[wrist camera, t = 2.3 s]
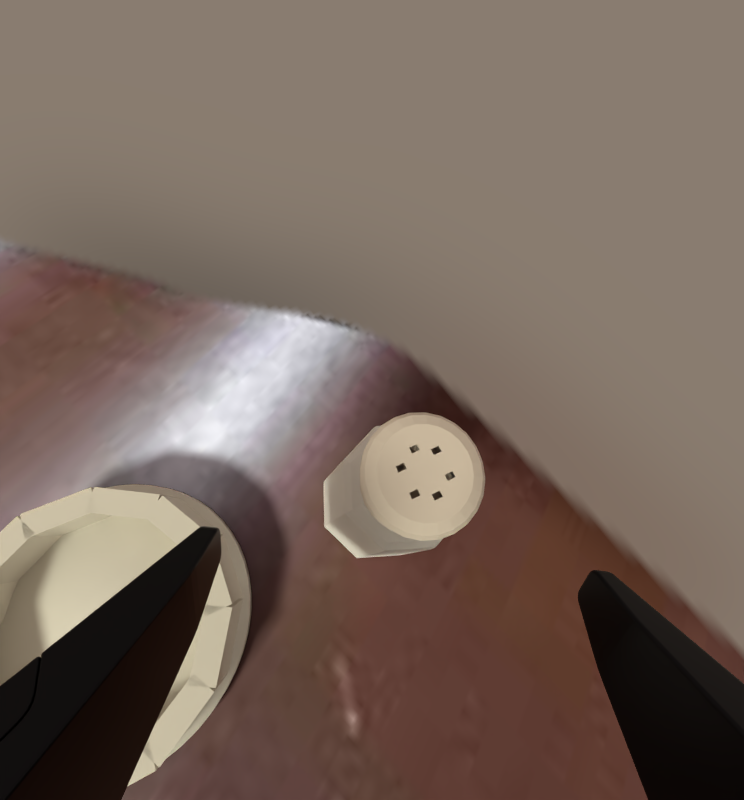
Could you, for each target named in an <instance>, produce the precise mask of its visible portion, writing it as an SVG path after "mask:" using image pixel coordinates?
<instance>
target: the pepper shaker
mask: <svg viewBox="0 0 744 800" xmlns="http://www.w3.org/2000/svg"><path fill="white" fill-rule="evenodd" d="M484 486H485V473H484V466H483V461H482V459H481V456H480V454H479V451H478V449H477V447H476V445H475V444H474V443H473V441H472V440H471V438H470V437H469V436H468V434H467V433H466V432H465V431H463V430H462V429H461V428H460V427H459V426H458V425H456V424H455V423H454V422H452V421H450V420H448V419H446V418H444V417H442V416H439V415H435V414H430V413H426V412H418V413H407V414H404V415H400V416H397V417H394V418H393V419H391V420H389V421H388V422H386V423H385V424H383V425H381V426H376V427H374V428H373V429H372V430H371V431H370V432H369V433H368V434H367V435H366V436H365V437H364V438H363V440H362V441H361V442H360V443H359V444H358V445H357V446H356V447H355V448H354V449H353V450H352V451H351V452H350V454H349V455H348V456H347V457H346V458H345V459H344V460H343V461H342V462H341V463H340V464H339V465H338V466H337V467H336V468H335V470H334V471H333V472H332V473H331V474H330V475H329V476H328V477H327V479H326V480H325V481H324V527H325V528H326V529H327V530H328V531H329V532H330V533H332V534H333V535H334V536H335V537H336V538H337V539H338V540H339V541H340V542H341V543H342V544H343V545H344V546H345V547H346V548H347V549H348V550H349V551H350V552H351V553H352V554H353V555H354V556H355V557H356V558H364V557H379V556H393V555H404V554H409V553H414V552H420V551H425V550H431V549H433V548H435V547H436V546H437V545H438V544H439V543H440V541H441V540H442V539H443V538H444V537H447V536H450V535H453V534H455V533H456V532H457V531H459V530H460V529H461V528H463V527H464V526H465V525H467V524H468V523H469V521H470V520H471V519H472V517H473V516H474V515H475V513H476V512H477V511H478V508H479V506H480V503H481V500H482V498H483V495H484Z"/></svg>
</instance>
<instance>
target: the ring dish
mask: <svg viewBox="0 0 744 800" xmlns="http://www.w3.org/2000/svg"><path fill="white" fill-rule="evenodd" d="M201 526H209V527H217V528H219V530H220V534H221V559H220V563H219V566H218V569H217V572H216V575H215V578H214V581H213V584H212V587H211V590H210V593H209V596H208V599H207V602H206V605H205V608H204V611H203V614H202V617H201V620H200V623H199V626H198V629H197V631H196V634H195V636H194V638H193V641H192V643H191V645H190V648H189V650H188V652H187V654H186V656H185V659H184V661H183V663H182V665H181V668H180V670H179V672H178V674H177V677H176V679H175V681H174V683H173V685H172V688H171V690H170V692H169V694H168V697H167V699H166V701H165V703H164V705H163V708H162V710H161V712H160V714H159V717H158V719H157V721H156V723H155V726H154V728H153V730H152V732H151V734H150V737H149V739H148V741H147V743H146V746H145V748H144V750H143V752H142V754H141V757H140V759H139V761H138V763H137V766H136V768H135V770H134V772H133V774H132V777H131V779H130V781H129V783H128V786H129V785H131V784H132V783H134V782H136V781H138V780H140V779H142V778H143V777H145V776H147V775H149V774H151V773H153V772H155V771H156V770H157V768H158V767H160V766H161V765H162V763H163V762H164V760H165V759H166V758H167V757H169V756H170V755H171V754H172V753H174V752H175V751H176V750H177V749H179V748H180V747H181V746H182V745H183V744H184V743H185V742H186V741H187V740H188V739H189V738H190V737H191V736H192V735H193V734H194V733H195V732H196V731H197V730H198V729H199V728H200V727H201V725H202V724H203V723H204V722H205V720H206V719H207V718H208V717H209V715H210V714H211V713H212V712H213V710H214V709H215V707H216V705H217V704H218V702H219V701H220V699H221V698H222V696H223V695H224V693H225V691H226V690H227V688H228V687H229V685H230V682H231V680H232V678H233V676H234V674H235V672H236V670H237V668H238V666H239V663H240V660H241V657H242V655H243V652H244V649H245V645H246V641H247V637H248V633H249V628H250V620H251V612H252V592H251V583H250V576H249V572H248V568H247V564H246V560H245V557H244V555H243V552H242V550H241V547H240V545H239V543H238V541H237V540H236V538H235V536H234V534H233V533H232V531H231V530H230V528H229V527H228V526H227V525H226V523H225V522H224V521H223V520H222V519H221V518H220V517H219V516H218V515H217V514H216V513H215V512H214V511H213V510H212V509H211V508H209V507H208V506H206V505H205V504H203V503H202V502H201V501H199V500H197V499H195V498H193V497H191V496H189V495H187V494H185V493H182V492H179V491H176V490H173V489H169V488H164V487H158V486H153V485H140V484H130V485H117V486H112V487H107V488H100V487H94V488H92V487H90V488H88V489H85V490H83V491H80V492H77V493H75V494H72V495H69V496H67V497H64V498H62V499H59V500H56V501H54V502H51V503H48V504H46V505H43V506H40V507H38V508H35V509H33V510H30V511H27V512H25V513H22V514H20V516H17V517H16V518H15V519H14V520H12V521H11V522H10V523H9V524H8V525H7V526H6V527H5V528H4V529H3V530H2V531H1V532H0V685H2V684H3V683H4V682H6V681H7V680H8V679H9V678H11V677H12V676H13V675H15V674H16V673H17V672H18V671H20V670H21V669H22V668H23V667H25V666H26V665H27V664H28V663H30V662H31V661H32V660H33V659H35V658H36V657H38V656H39V657H41V654H42V653H43V652H44V651H45V650H46V649H47V648H49V647H50V646H51V645H52V644H54V643H55V642H56V641H57V640H59V639H60V638H61V637H63V636H64V635H65V634H66V633H68V632H69V631H70V630H71V629H73V628H74V627H75V626H76V625H78V624H79V623H80V622H81V621H83V620H84V619H85V618H86V617H88V616H89V615H90V614H91V613H93V612H94V611H95V610H96V609H98V608H99V607H100V606H101V605H103V604H104V603H105V602H106V601H108V600H109V599H110V598H111V597H113V596H114V595H115V594H116V593H118V592H119V591H120V590H121V589H123V588H124V587H125V586H126V585H128V584H129V583H130V582H131V581H133V580H134V579H135V578H136V577H138V576H139V575H140V574H141V573H143V572H144V571H145V570H146V569H148V568H149V567H150V566H151V565H153V564H154V563H155V562H156V561H158V560H159V559H160V558H162V557H163V556H164V555H165V554H167V553H168V552H169V551H170V550H172V549H173V548H174V547H175V546H177V545H178V544H179V543H180V542H182V541H183V540H184V539H185V538H187V537H188V536H189V535H190V534H192V533H193V532H194V531H195V530H197V529H198V528H199V527H201Z"/></svg>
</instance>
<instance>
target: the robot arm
mask: <svg viewBox="0 0 744 800" xmlns="http://www.w3.org/2000/svg"><path fill="white" fill-rule="evenodd" d="M220 559H221V534H220V530H219V528H217V527H209V526H201V527H199V528H198V529H197V530H195V531H194V532H193V533H192V534H190V535H189V536H188V537H187V538H185V539H184V540H183V541H182V542H180V543H179V544H178V545H177V546H175V547H174V548H173V549H172V550H170V551H169V552H168V553H167V554H165V555H164V556H163V557H162V558H160V559H159V560H158V561H156V562H155V563H154V564H153V565H151V566H150V567H149V568H148V569H146V570H145V571H144V572H143V573H141V574H140V575H139V576H138V577H136V578H135V579H134V580H133V581H131V582H130V583H129V584H128V585H126V586H125V587H124V588H123V589H121V590H120V591H119V592H118V593H116V594H115V595H114V596H113V597H111V598H110V599H109V600H108V601H106V602H105V603H104V604H103V605H101V606H100V607H99V608H98V609H96V610H95V611H94V612H93V613H91V614H90V615H89V616H88V617H86V618H85V619H84V620H83V621H81V622H80V623H79V624H78V625H76V626H75V627H74V628H73V629H71V630H70V631H69V632H68V633H66V634H65V635H64V636H63V637H61V638H60V639H59V640H57V641H56V642H55V643H54V644H52V645H51V646H50V647H49V648H47V649H46V650H45V651H44V652H43V653H42V654H41V657H39V656H38V657H36V658H35V659H33V660H32V661H31V662H30V663H28V664H27V665H26V666H25V667H23V668H22V669H21V670H20V671H18V672H17V673H16V674H15V675H13V676H12V677H11V678H9V679H8V680H7V681H6V682H4V683H3V684H2V685H0V800H121V799H122V797H123V795H124V792H125V790H126V788H127V786H128V783H129V781H130V779H131V777H132V774H133V772H134V770H135V768H136V766H137V763H138V761H139V759H140V757H141V754H142V752H143V750H144V748H145V746H146V743H147V741H148V739H149V737H150V734H151V732H152V730H153V728H154V726H155V723H156V721H157V719H158V717H159V714H160V712H161V710H162V708H163V705H164V703H165V701H166V699H167V697H168V694H169V692H170V690H171V688H172V685H173V683H174V681H175V679H176V677H177V674H178V672H179V670H180V668H181V665H182V663H183V661H184V659H185V656H186V654H187V652H188V650H189V648H190V645H191V643H192V641H193V638H194V636H195V634H196V631H197V629H198V626H199V623H200V620H201V617H202V614H203V611H204V608H205V605H206V602H207V599H208V596H209V593H210V590H211V587H212V584H213V581H214V578H215V575H216V572H217V569H218V566H219V563H220ZM578 601H579V605H580V609H581V612H582V616H583V619H584V623H585V626H586V630H587V633H588V637H589V640H590V644H591V647H592V651H593V654H594V657H595V661H596V664H597V667H598V670H599V673H600V676H601V678H602V681H603V684H604V686H605V689H606V692H607V694H608V697H609V699H610V702H611V704H612V707H613V710H614V712H615V715H616V717H617V720H618V723H619V725H620V728H621V730H622V733H623V736H624V738H625V741H626V743H627V746H628V749H629V751H630V754H631V756H632V759H633V762H634V764H635V767H636V769H637V772H638V775H639V777H640V780H641V782H642V785H643V788H644V790H645V793H646V795H647V798H648V800H744V684H743V683H742V682H741V681H740V680H738V679H737V678H736V677H735V676H734V675H733V674H731V673H730V672H729V671H728V670H727V669H725V668H724V667H723V666H722V665H721V664H719V663H718V662H717V661H716V660H715V659H713V658H712V657H711V656H710V655H709V654H707V653H706V652H705V651H704V650H703V649H702V648H700V647H699V646H698V645H697V644H696V643H694V642H693V641H692V640H691V639H690V638H688V637H687V636H686V635H685V634H684V633H682V632H681V631H680V630H679V629H678V628H676V627H675V626H674V625H673V624H672V623H671V622H669V621H668V620H667V619H666V618H665V617H663V616H662V615H661V614H660V613H659V612H657V611H656V610H655V609H654V608H653V607H651V606H650V605H649V604H648V603H647V602H646V601H644V600H643V599H642V598H641V597H640V596H638V595H637V594H636V593H635V592H634V591H632V590H631V589H630V588H629V587H628V586H626V585H625V584H624V583H623V582H622V581H620V580H619V579H618V578H617V577H616V576H615V575H613V574H612V573H610V572H606V571H598V570H593V571H591V572H590V573H589V575H588V576H587V578H586V580H585V581H584V583H583V585H582V586H581V588H580V590H579V592H578Z"/></svg>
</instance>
